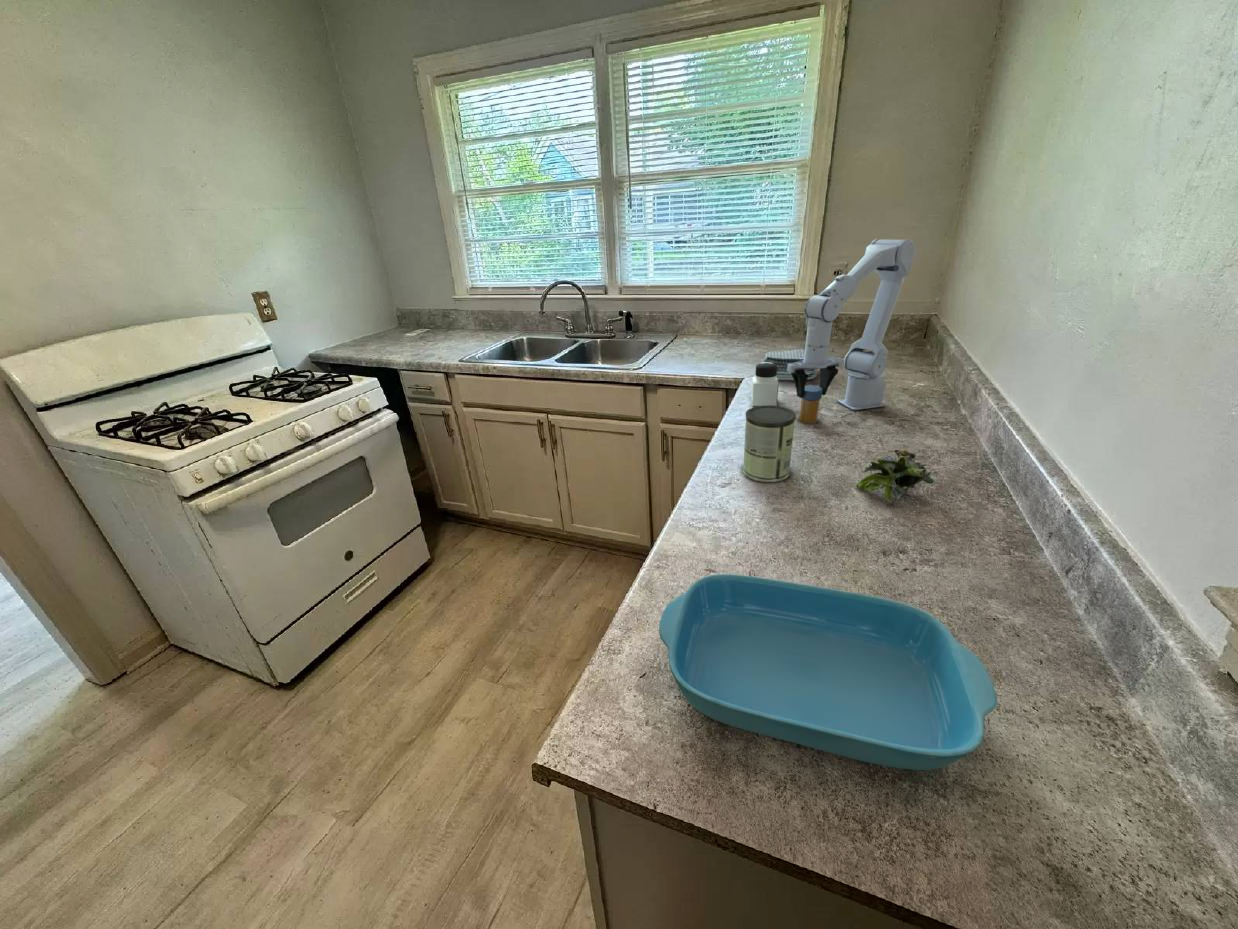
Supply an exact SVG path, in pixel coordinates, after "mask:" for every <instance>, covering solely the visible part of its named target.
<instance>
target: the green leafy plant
mask: <svg viewBox="0 0 1238 929" xmlns="http://www.w3.org/2000/svg"><path fill="white" fill-rule="evenodd" d="M894 453H895V454H896V456H897V457H896V456H891V455H889V456H888V454H887V455H886V456H884V457H882V456H881V457H876V462H875V461H872V460H870V463H869V464H868V466H867V467H866V468H865V469H864V471H863V473H869V472H873V471H874V472H875V471H879V472H875V473H872V474H870V475H867V476H865V477H864V478H862V479H861V480H860V481H859V482H858V483H857V484H856V489H859V490H860V491H861V490H862V491H863V492H869V491H870V492H871V491H874V490H878V489H883V488H884V489H883V491H884V495H885V497H886V499H887V500H888V501H889V502H891V501H892V492H893V495H894V500H893V502H892V503H891V504H890V506H893V505H895V503H896V502H897V501H898V499H899V498H900V497H901V496H902V495H904V494H906V493H907V491H909V489H914V488H915V487H916V485H917V484H919V483H921V482H925V483H927V484H934V482H935V480H934V479H933V478H931V471H928V472H927V468H926V464H925V463H922V462H919V461H915V459H916V457H917V454H916V453H914V452H910V451H908V450H905V449H904V450H900V449H894ZM921 463H922V464H921ZM893 490H894V491H893Z"/></svg>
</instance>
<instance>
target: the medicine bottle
mask: <svg viewBox="0 0 1238 929" xmlns="http://www.w3.org/2000/svg"><path fill="white" fill-rule="evenodd" d="M776 374H777V365H776V364H774V363H770V362H764V361H763V363H762V362H760V363H758V364H756V365H755V374H754V376H752V380H751V382H752V383H751V395H750V396H751V398H750V399H751V400H750V401H751V405H752V407H757V406H766V405H772V406H778V398H779V397H778V396H779V380H777V377H776Z"/></svg>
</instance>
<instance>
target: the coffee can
mask: <svg viewBox="0 0 1238 929" xmlns="http://www.w3.org/2000/svg"><path fill="white" fill-rule="evenodd" d="M796 416H797V414H796V412H795V411H794V410H792V409H791V408H788V407H784V406H780V405H777V406H772V405H766V406H752V407H750V408H749V409H747V410H746V411H745V428H744V431H745V432H744V448H743V466H742V473H743V475H745V476H746V477H747V478H749V479H751V480H753V481H757V482H761V483H777V482H781V481H784V480H786V479H788V477H789V476H790V473H791V471H790V470H791V462H792V461H791V460H792V452H793V450H792V449H793V440H794V431H795V422H796V421H795V420H796V418H797V417H796Z"/></svg>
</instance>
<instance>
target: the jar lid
mask: <svg viewBox="0 0 1238 929" xmlns="http://www.w3.org/2000/svg"><path fill="white" fill-rule="evenodd" d="M822 397H823V395H822V388H821V387H819V385H811V384H810V385H805V390H804V396H803V398H801V400H802V399H805V400H810V401H815V400H819V399H820V400H821V399H822Z"/></svg>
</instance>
